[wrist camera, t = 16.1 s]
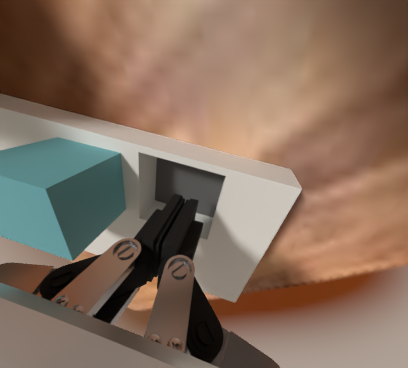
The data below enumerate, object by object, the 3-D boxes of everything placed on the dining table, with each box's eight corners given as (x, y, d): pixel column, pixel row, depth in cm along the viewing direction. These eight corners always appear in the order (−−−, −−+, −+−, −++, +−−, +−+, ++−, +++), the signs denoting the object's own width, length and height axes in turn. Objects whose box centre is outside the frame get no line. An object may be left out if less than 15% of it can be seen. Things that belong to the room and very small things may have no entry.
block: (57, 137, 12) (-48, 161, 8) (120, 152, 11) (45, 188, 7) (73, 194, 14) (1, 236, 10) (126, 209, 14) (72, 260, 10)
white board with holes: (-22, 87, 15) (-144, 85, 10) (290, 169, 12) (317, 215, 8) (30, 207, 22) (-28, 238, 17) (236, 275, 20) (233, 333, 15)
